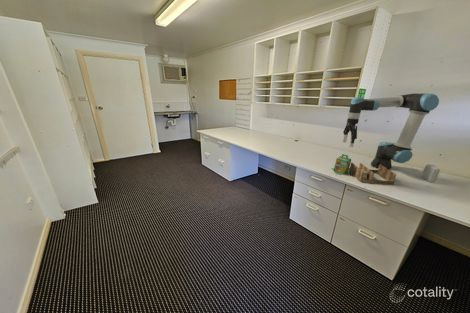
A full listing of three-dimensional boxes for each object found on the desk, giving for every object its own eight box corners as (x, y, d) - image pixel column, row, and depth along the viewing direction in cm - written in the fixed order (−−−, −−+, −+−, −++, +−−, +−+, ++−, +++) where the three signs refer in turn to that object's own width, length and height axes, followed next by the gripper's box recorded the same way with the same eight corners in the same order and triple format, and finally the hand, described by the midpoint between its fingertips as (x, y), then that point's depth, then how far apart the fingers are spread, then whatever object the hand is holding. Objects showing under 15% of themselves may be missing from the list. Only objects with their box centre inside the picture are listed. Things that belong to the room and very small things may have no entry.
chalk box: (333, 170, 158) (336, 154, 153) (337, 168, 164) (340, 152, 159) (345, 174, 152) (349, 157, 147) (348, 171, 157) (352, 155, 152)
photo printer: (419, 176, 150) (425, 162, 146) (426, 177, 149) (431, 163, 145) (429, 182, 141) (435, 167, 137) (436, 183, 140) (442, 168, 136)
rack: (348, 170, 160) (350, 162, 157) (377, 172, 157) (380, 164, 154) (360, 182, 140) (362, 172, 137) (393, 184, 136) (397, 175, 134)
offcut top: (358, 172, 148) (359, 169, 147) (363, 173, 148) (364, 169, 147) (362, 175, 143) (362, 172, 142) (366, 176, 142) (367, 172, 141)
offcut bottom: (357, 176, 150) (358, 172, 149) (361, 176, 149) (362, 172, 148) (361, 180, 143) (362, 176, 142) (366, 180, 143) (367, 176, 142)
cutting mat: (331, 168, 164) (331, 168, 164) (345, 169, 162) (345, 169, 162) (336, 174, 153) (336, 173, 153) (351, 175, 151) (351, 174, 151)
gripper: (342, 116, 154) (337, 140, 161) (355, 120, 131) (348, 148, 138) (351, 116, 153) (346, 140, 160) (366, 120, 130) (359, 149, 137)
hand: (347, 144), depth 149 cm, fingers open, 13 cm apart
